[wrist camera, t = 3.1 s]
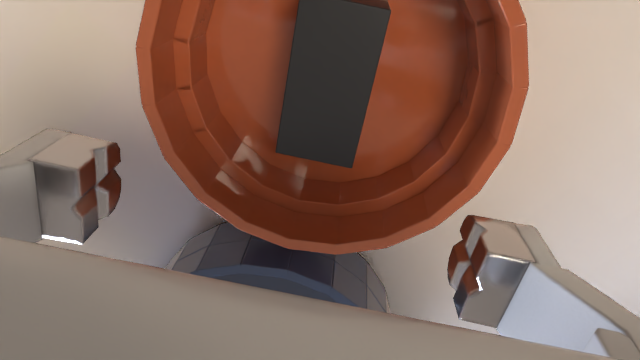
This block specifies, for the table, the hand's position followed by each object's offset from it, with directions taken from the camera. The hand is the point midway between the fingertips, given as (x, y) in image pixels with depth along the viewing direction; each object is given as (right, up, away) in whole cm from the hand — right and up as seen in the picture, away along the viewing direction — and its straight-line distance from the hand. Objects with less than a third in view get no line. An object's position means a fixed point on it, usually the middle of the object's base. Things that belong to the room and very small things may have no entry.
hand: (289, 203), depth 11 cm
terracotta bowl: (+1, +6, +12) cm, 14 cm away
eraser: (+1, +6, +12) cm, 13 cm away
